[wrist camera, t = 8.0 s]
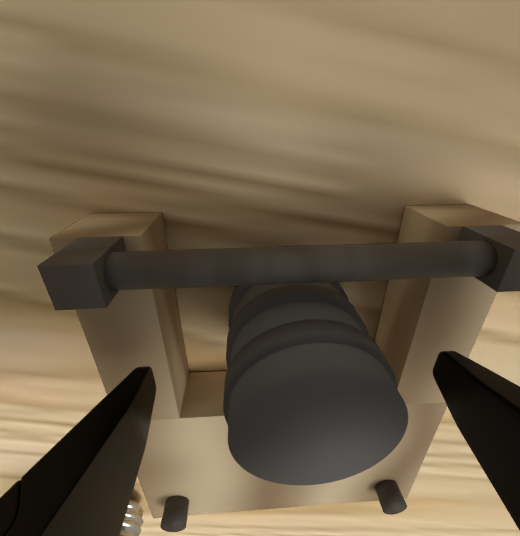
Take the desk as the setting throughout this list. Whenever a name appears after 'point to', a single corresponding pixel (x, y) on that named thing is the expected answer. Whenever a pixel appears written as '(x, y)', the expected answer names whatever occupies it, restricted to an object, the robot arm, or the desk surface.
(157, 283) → the wooden handle frame
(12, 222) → the desk surface
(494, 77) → the desk surface
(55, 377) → the desk surface
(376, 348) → the stacked grey discs
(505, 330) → the desk surface
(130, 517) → the light bulb
